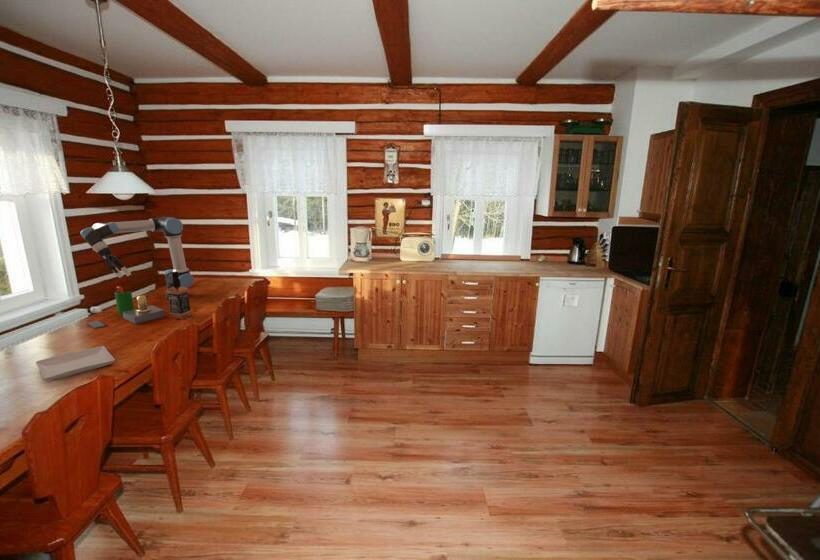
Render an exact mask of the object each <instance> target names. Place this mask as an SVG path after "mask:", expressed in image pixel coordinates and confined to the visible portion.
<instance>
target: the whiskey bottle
mask: <svg viewBox="0 0 820 560" xmlns="http://www.w3.org/2000/svg"><path fill="white" fill-rule="evenodd" d="M172 277H173V280H172V284H173V287H172V288H170V289H169V290H167V289H166V292H167V294H168V297H169V300H168V302H169V303H168V305H169V311H170V312H169V317H170V318H174V319H175V320H176V321H183V320H186V319H188V318H191V317H193V313H192V310H191V305H190V300H189V299H190V298H189V294H188V293H189V290H188V288H185V287H182V286H181V285H180V280H179V275H178V272H172Z"/></svg>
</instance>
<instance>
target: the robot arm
mask: <svg viewBox="0 0 820 560" xmlns="http://www.w3.org/2000/svg"><path fill="white" fill-rule="evenodd" d="M183 230H184V225H183V222H182V221H181V220H180V219H178V218H176V217H173V216H170V217H169V216H161V217H154V218H149V219H146V220H131V221H130V220H129V221H116V222H115V221H111V222H95V223H94V224H93V225H91V226H89V227H86V228H84V229H82V230H81V231H80V233H79V234H80V235H81V237H82V238H83V240H85V242H87V244H88V245H89V246H90V247H91V248H92V251H94V252H96V254H97V255H98V256H99V257H100V258H102V260H103V261H104V262H105V264H106V266H107V267H108V269H109V271H112V272H113V273H114V274H115V275H116V276H117V277H118V278H119V279H120V278H122V277H123V276H124V275H126V277H129V276H131V275H132V273H131V272H130V271H129V269H127V267H126V264H124V263H123V262H122V261H121V260H120V259H119V258H118V257H117V256H116V255H115V254H112V253H113V250H112V249H111V248H110V247H109V245H108V244H107V243H106V242H105V241H104V239H106V238H108V237H111V236H113V235H116V234H119V233H121V234H122V233H133V232H134V233H135V232H145V231H151V232H162V233H163V236H164V238H166V239H167V244H168V248H169V254H170V259H171V262H172V267H173V268H172V269H166V270H165V271H164V277H165V278H164V279H165V282H166V292H165V299H166V300H168V301H169V297H168V294H167V290H169V289H170V288H172V287H173V284H172V280H173V277H172V272H178V275H179V280H180V285H181V286H182V287H185V288H187V289H188V288H190V287H191V286H192V285H193V284H194V282H195V281H194V276H193V275H192V274H191V271H190V269H189V268H188V267H187V265H186V264H187V263H186V258H185V253H184V249H183V244H182V239H181V237H182V236H183V232H182V231H183ZM117 267H119V268H120V269H118V268H117ZM120 270H121V271H120ZM122 272H123V273H122Z"/></svg>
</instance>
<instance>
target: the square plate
mask: <svg viewBox="0 0 820 560" xmlns="http://www.w3.org/2000/svg"><path fill="white" fill-rule="evenodd" d="M115 360H116V359H115V358H114V356H113V355H112V354H111V353H110V352H109V351H108V349H107V348H106V346H104V345H100V346H96V347H91V348H87V349H81V350H77V351H73V352H68V353H64V354H59V355H56V356H51V357H48V358H43V359H40V360H37V361H35V364H36V366H37V368H38V369H39V373H40V377H41V379H42V380H45V381H52V380H53V381H54V380H56V379H63V378H67V377H71V376H74V375H77V374H81V373H86V372H88V371H92V370H97V369H99V368H102V367H105V366H108V365H111V364H113V363H114V362H115Z"/></svg>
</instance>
